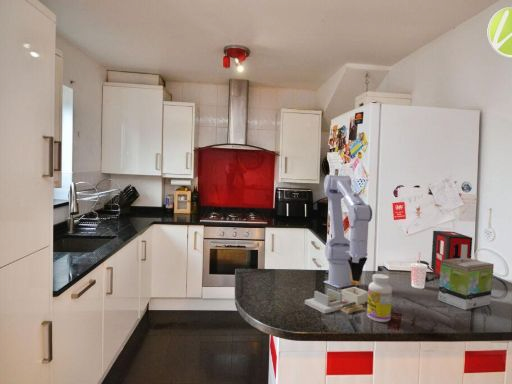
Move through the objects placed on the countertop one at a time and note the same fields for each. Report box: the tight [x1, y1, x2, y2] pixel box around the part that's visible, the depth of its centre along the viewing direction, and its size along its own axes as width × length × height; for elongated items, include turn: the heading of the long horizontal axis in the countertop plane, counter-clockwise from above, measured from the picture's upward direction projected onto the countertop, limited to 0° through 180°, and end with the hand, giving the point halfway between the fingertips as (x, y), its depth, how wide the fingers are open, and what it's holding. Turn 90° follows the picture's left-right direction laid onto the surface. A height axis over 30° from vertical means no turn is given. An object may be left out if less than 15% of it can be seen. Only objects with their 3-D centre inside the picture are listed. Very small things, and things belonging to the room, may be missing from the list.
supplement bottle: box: [366, 273, 393, 323], centre depth 96 cm, size 7×7×13 cm
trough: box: [339, 302, 364, 315], centre depth 102 cm, size 7×3×2 cm, turn 123°
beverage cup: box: [410, 251, 428, 289], centre depth 128 cm, size 6×6×14 cm
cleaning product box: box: [430, 230, 473, 279], centre depth 142 cm, size 16×9×20 cm, turn 172°
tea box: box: [437, 258, 495, 311], centre depth 112 cm, size 15×10×15 cm, turn 117°
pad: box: [326, 294, 337, 303], centre depth 105 cm, size 4×4×1 cm
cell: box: [350, 273, 362, 286], centre depth 110 cm, size 3×3×6 cm
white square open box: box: [341, 286, 368, 306], centre depth 110 cm, size 7×7×3 cm
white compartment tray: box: [304, 288, 350, 314], centre depth 105 cm, size 12×9×4 cm
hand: (356, 279), depth 110 cm, fingers closed on cell, 3 cm apart
